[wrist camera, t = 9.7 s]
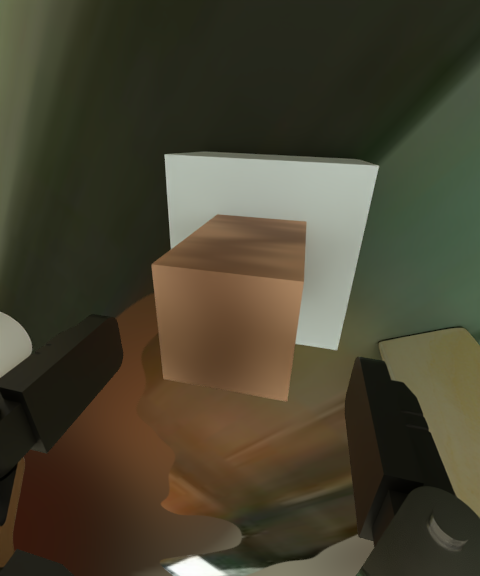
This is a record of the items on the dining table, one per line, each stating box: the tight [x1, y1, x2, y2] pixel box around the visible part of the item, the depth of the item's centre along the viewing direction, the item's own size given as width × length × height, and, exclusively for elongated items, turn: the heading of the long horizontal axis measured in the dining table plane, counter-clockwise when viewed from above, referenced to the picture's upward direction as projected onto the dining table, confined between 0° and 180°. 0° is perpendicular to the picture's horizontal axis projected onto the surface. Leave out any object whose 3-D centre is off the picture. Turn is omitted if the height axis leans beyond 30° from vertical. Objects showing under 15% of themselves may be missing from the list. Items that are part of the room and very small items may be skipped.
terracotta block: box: [152, 214, 306, 402], centre depth 14 cm, size 5×5×8 cm
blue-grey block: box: [165, 152, 379, 350], centre depth 21 cm, size 11×11×7 cm
